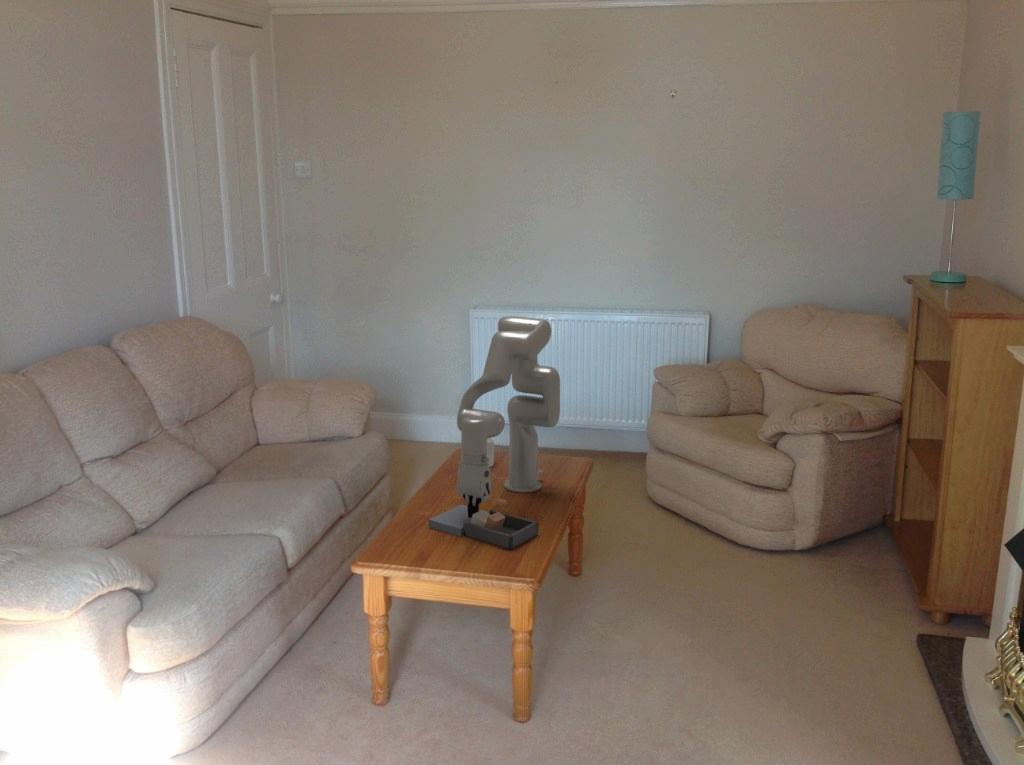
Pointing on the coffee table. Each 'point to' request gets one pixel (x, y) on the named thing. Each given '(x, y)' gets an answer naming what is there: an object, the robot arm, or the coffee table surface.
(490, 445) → the mug
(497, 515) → the tile
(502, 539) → the box
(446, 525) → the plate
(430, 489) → the coffee table surface
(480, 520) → the tile
